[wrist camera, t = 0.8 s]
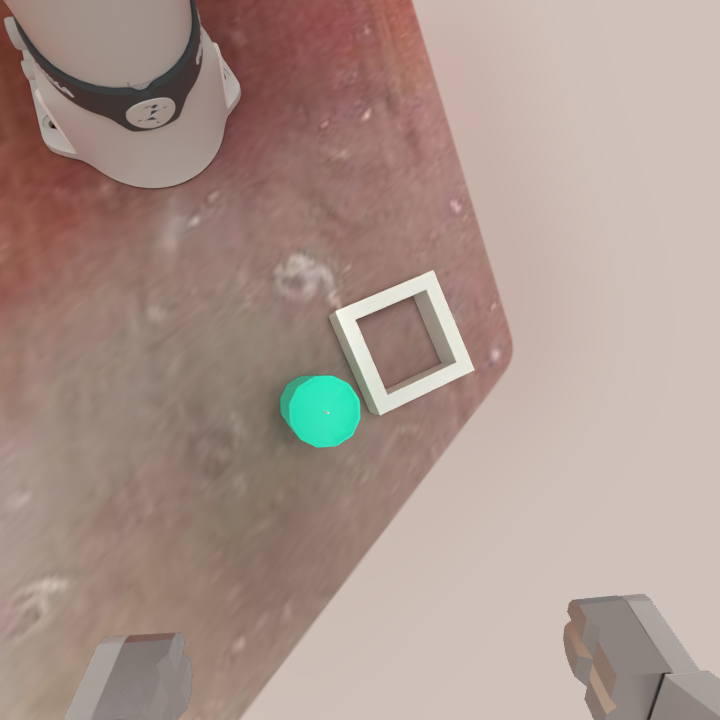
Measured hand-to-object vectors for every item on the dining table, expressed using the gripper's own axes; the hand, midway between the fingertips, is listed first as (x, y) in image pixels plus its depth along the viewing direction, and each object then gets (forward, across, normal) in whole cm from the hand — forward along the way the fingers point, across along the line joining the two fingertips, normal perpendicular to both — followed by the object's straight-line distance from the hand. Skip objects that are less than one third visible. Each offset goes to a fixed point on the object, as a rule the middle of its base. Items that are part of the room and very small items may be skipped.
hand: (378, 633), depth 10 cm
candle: (+37, +5, +15) cm, 40 cm away
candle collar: (+41, -5, +11) cm, 43 cm away
